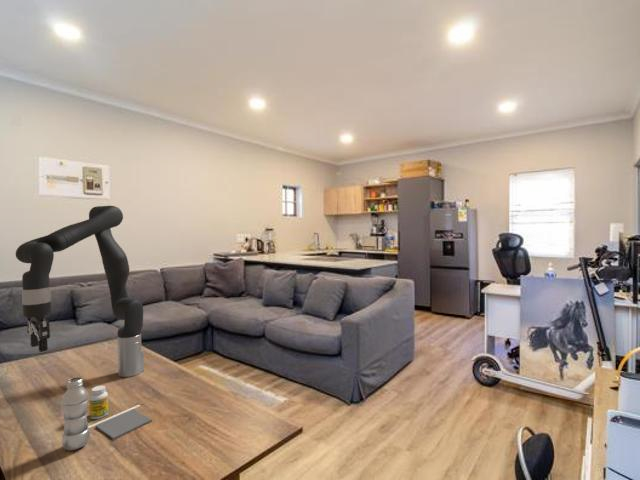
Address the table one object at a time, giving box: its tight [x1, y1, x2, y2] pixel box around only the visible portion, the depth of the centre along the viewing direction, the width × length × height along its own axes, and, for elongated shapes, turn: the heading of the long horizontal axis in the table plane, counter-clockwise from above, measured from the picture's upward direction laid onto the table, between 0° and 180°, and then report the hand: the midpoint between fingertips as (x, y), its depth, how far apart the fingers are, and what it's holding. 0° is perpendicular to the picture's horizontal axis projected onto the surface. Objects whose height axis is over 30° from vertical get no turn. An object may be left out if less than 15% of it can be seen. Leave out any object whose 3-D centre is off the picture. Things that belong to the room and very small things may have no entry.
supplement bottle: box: [88, 385, 109, 420], centre depth 116 cm, size 5×5×10 cm
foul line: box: [88, 404, 141, 430], centre depth 114 cm, size 20×1×1 cm, turn 146°
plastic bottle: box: [61, 376, 91, 451], centre depth 99 cm, size 6×7×20 cm
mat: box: [95, 409, 153, 441], centre depth 111 cm, size 12×12×1 cm
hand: (39, 348), depth 115 cm, fingers open, 8 cm apart
